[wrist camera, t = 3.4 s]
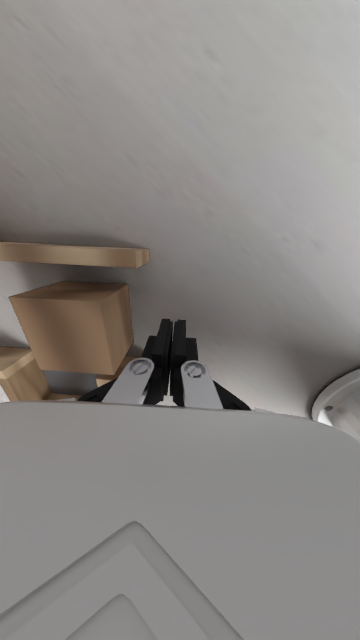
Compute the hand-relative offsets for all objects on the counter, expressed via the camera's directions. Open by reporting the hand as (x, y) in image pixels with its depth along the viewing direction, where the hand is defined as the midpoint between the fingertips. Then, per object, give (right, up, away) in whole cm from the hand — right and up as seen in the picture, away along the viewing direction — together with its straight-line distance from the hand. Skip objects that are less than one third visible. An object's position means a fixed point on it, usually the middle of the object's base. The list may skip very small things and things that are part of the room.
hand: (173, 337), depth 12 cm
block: (-7, +2, +4) cm, 9 cm away
